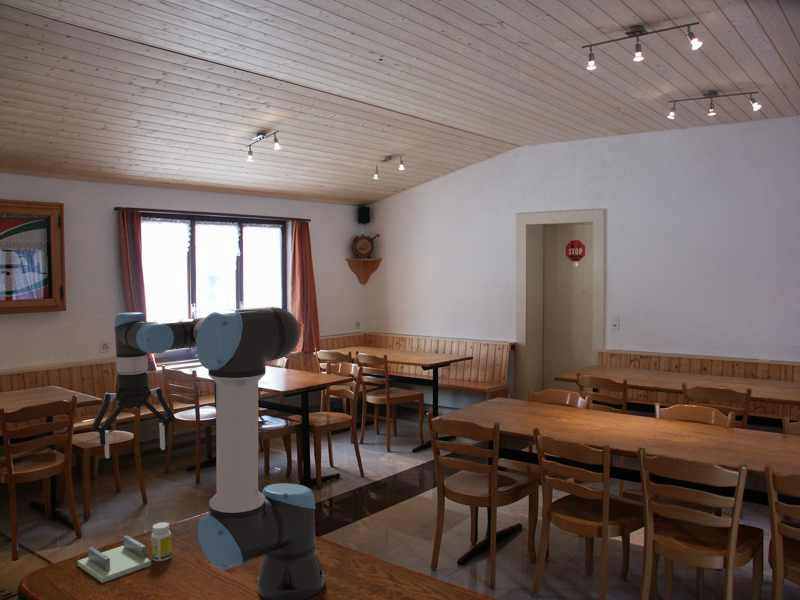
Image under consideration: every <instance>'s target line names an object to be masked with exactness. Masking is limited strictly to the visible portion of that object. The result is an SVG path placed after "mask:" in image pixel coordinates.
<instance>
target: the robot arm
mask: <svg viewBox="0 0 800 600" xmlns="http://www.w3.org/2000/svg"><path fill="white" fill-rule="evenodd" d="M146 317H147V316H146V314H145V313H144V312H141V311H138V312H134V311H133V312H120V313H117V314H116V315H115V317H114V327H113V328H114V333H115V334H114V337H115V339H114V340H115V341H114V342H115V357H116V358H115V359H116V361H115V362H116V372H117V373H118V374H116V385H117V386H116V389H117V390H116V392H115V393H109V392H104V394H103V401H102V404H101V406H100V407H99V410H98V412H97V414H96V415H95V418H94V421H93V423H92V424H91V430H92V431H93V432H97V433H99V435H98V436H99V443H100V446H104V457H105V459H110V440H109V439H110V437H109V435H110V434H109V431H108V429H109V428H110V426H111V425H112V424H113V422H114V421H115V420H116V418H117V417H118V416H119V415H120V413H121V412H123V410H124V409H125V408H126V409H128V410H129V409H134V408H137V409H138V408H142V407H143V406H145V407H146V408H147V409H148V410H149V411H150V412H151V413H152V414H153V415H155V417H157V418H158V420H160V421H161V423H158V424H159V448H160V449H161V450H162V451H164V450H166V440H165V439H166V437H169V434H170V433H169V432H170V431H169V424H171V423H172V422H175V421H176V417H175V415H174V413H173V412H172V410H171V408H170V406H169V405H168V403H167V401H166V400H165V398H164V397H163V392H162V391H163V390H162V389H161V388H160V387H159V386H157V387H155V388H153V389H150V388H149V372H148V371H147V370H149V367H148V363H149V361H148V354H150V355H151V354H152V355H153V354H163V353H166V352H167V351H174V350H175V351H176V350H182V349H183V350H184V349H191V348H196V349H195V350H196V355H197V356H198V361H199V363H200V364H201V366H202V367H203V368H205V369H207V371H208V377H210V378H211V380H213V381H214V382H215V402H216V403H215V415H216V416H215V417H216V419H215V424H216V425H215V430H216V436H215V439H216V442H215V443H216V448H215V449H216V450H215V451H216V454H215V455H216V456H215V457H216V461H215V462H216V492H215V494H214V495H213V496H212V497H211V498H210V499H209V501H208V504H209V505H208V514H205V515H204V516H203V517H201V518H200V519H199V521H198V523H197V537H198V542H199V545H200V548H201V551H202V552H203V554H204V556H205V558H206V560H208V562H210V564H211V565H212V566H213V567H215V568H217V569H219V570H229V569H231V568H233V567H240V566H241V565H243V564H245V563H247V562H249V561H253V560H255V559H256V558H260V557H262V556H263V559H262V562H261V566H260V570H259V573H258V576H257V579H256V580H257V582H256V583H257V584H256V585H257V586H256V587H257V588H256V589H257V593H258V595H259V596H261V598H262V599H263V598H264V599H265V600H306V599H309V598H311V597H313V596H316V595H317V594H318V593H320V592H321V590H322V589H323V588H324V585H325V574H324V570H323V567H322V565H321V562H320V559H319V556H318V553H317V550H316V546H317V545H316V504H315V496H314V495H315V493H314V491H312V489H311V488H309V487H307V486H305V485H303V484H296V483H287V482H285V483H273V484H268V485H266V486H264V488H263V489H262V492H261V491H259V381H260V380H261V379H262V378H263V377H264V376H265V375H266V373H267V372H266V371H267V370H266V369H267V368H266V365H267V362H272V361H276V360H281V359H283V358H285V357H287V356H289V355H290V354H291V353H292V352H293V351H294V350H295V349H296V348H297V346H298V344H299V342H300V340H301V339H300V338H301V327H300V324H299V322H298V320H297V318H296V316H294V315H293V313H292V312H290V311H288V310H287V309H284V308H282V307H281V308H280V307H276V306H275V307H274V306H269V307H268V306H267V307H255V308H234V309H233V308H231V309H225V310H218V311H214V312H212V313H209V314H208V315H207V316H206V317H198V318H197V317H196V318H187V319H176V320H163V321H159V320H158V321H147V318H146ZM151 395H153V397H155V398H156V399H157V401H158V403H159V404H160V406H161V407H162V409H163V411H164V412H165V414H166V416H167V417H164V415H163V414H161V412H160V411H159V410H157V409H156V407H154V406H153V405H152V404H151V403H150V402H149V401H148V399H149V398H150V397H151ZM114 399H116V400H117V401H118V403H117V404H116V406H115V408H114V409H113V410H112V412H110V414H109V415H108V416H107V418H106V419H105V420H104V422H103V423H102V421H103V419H104V417H105V415H106V413H107V410H108V409H109V406H110V403H111V402H113V401H114ZM101 423H102V424H101Z"/></svg>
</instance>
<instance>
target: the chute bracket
mask: <svg viewBox="0 0 800 600" xmlns="http://www.w3.org/2000/svg"><path fill="white" fill-rule="evenodd" d="M122 540H123V545H124V548H125V549H126V550H128V551H130V552H131V553H133V554H135V555H136V556H138V557H140V558H141V559H144V558H147V553H146V552H147V550H146V545H144V543H142V542H140V541H138V540H136V539H134V538H132V537H131V536H129V535H123V539H122ZM87 557H88V560H90V561H91V562H92V563H94V564H95V565H97V566H98V567H100V568H101V569H103V570H104V571H106V572H107V571H110V558H109V557H107V556H106V555H104V554H103V553H102V552H101V551H99V550H98V549H97V548H95V547H93V546H90V547H89V546H88V547H87Z"/></svg>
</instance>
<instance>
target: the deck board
mask: <svg viewBox="0 0 800 600" xmlns="http://www.w3.org/2000/svg"><path fill="white" fill-rule="evenodd" d="M101 553H103V554H104V555H106V556H107V557H109V558H110V571H107V572H106V571H104V570H103V569H101V568H100V567H98V566H97V565H95V564H94V563H92V562H91V561H90V560H88V556H86V557H84V558H82V559H78V560H77V566H78V567H80V568H81V569H82V570H83V571H85V572H86V573H87V574H89V575H91V577H93V578H95V579H96V580H97V581H99V582H100V583H101V584H103V583H106V582H109V581H112V580H115V579H117V578H119V577H123V576H126V575H129V574H131V573H134V572H136V571H139V570H142V569H144V568H147V567H150V566H152V561H151V559H149V558H148V557H146V558H144V559H141V558H140V557H138V556H136V555H135V554H133V553H131V552H130V551H128V550H126V549H125V548H124V544H123V545H121V546H118V547H115V548H112V549H109V550H105V551H102V552H101Z"/></svg>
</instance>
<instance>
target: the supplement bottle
mask: <svg viewBox="0 0 800 600" xmlns="http://www.w3.org/2000/svg"><path fill="white" fill-rule="evenodd" d="M150 537H151V538H150V539H151V541H150V542H151V558H152V560H153V561H154V562H164V561H167V560H170V559H171V558H172V556H173V547H172V546H173V545H172V532H171V531H170V523H169V522H165V521H164V522H163V521H162V522H157V523H155V524H153V525H152V533H151V536H150Z"/></svg>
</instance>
